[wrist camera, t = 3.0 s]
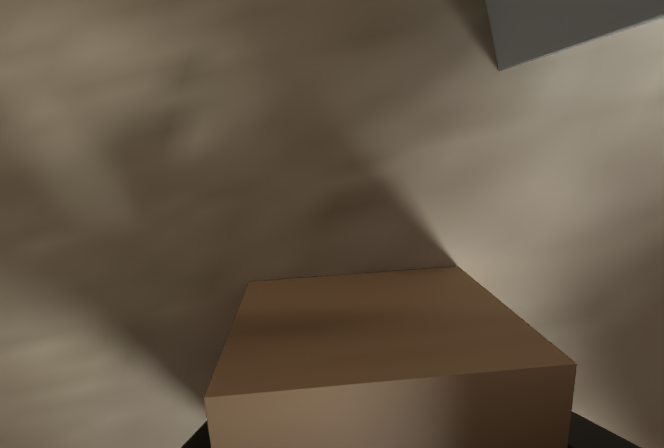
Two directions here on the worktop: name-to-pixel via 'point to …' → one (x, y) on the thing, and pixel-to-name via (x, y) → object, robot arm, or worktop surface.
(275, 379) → the walnut block
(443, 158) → the worktop surface
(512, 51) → the slate block
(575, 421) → the robot arm
